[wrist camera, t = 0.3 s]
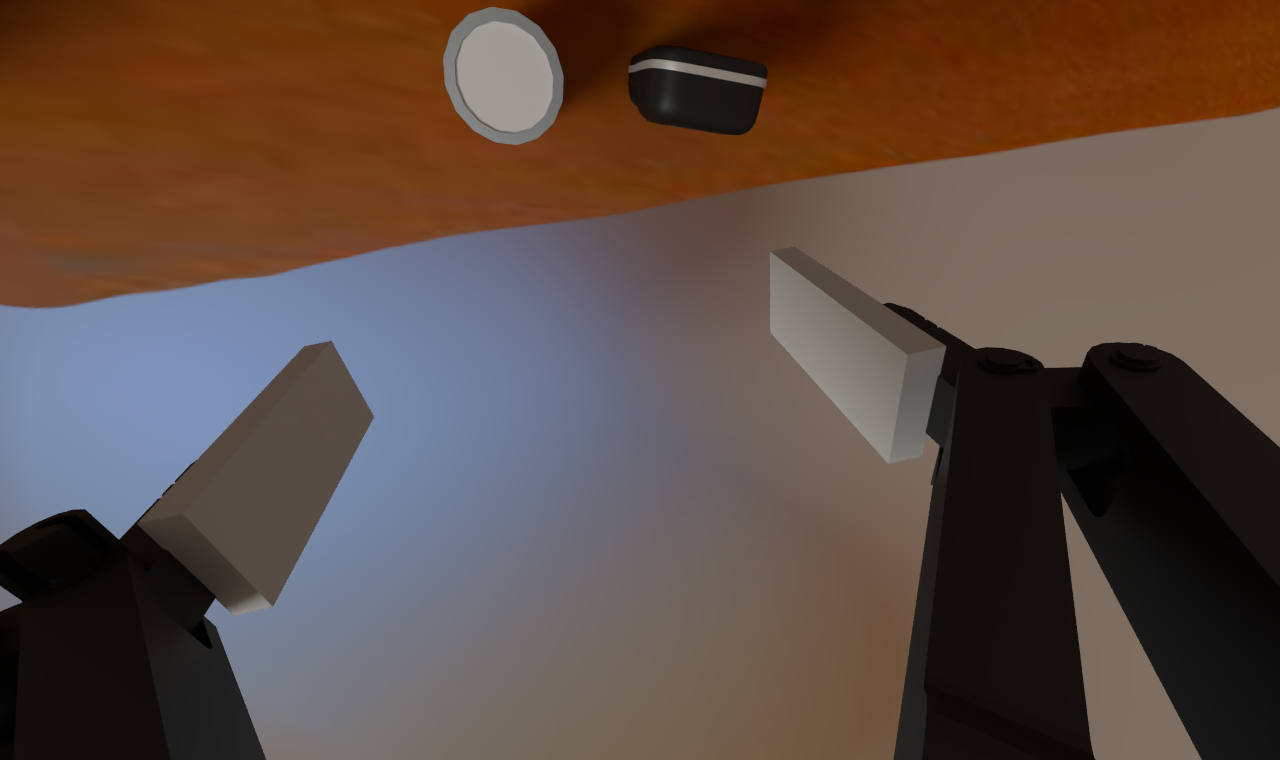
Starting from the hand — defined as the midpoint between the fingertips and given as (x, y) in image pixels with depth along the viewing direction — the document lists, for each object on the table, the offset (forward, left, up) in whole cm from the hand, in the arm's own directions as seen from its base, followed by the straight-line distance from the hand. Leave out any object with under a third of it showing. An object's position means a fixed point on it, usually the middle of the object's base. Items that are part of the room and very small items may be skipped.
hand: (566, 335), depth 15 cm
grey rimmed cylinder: (-7, -1, -28) cm, 29 cm away
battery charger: (-4, +10, -28) cm, 30 cm away
